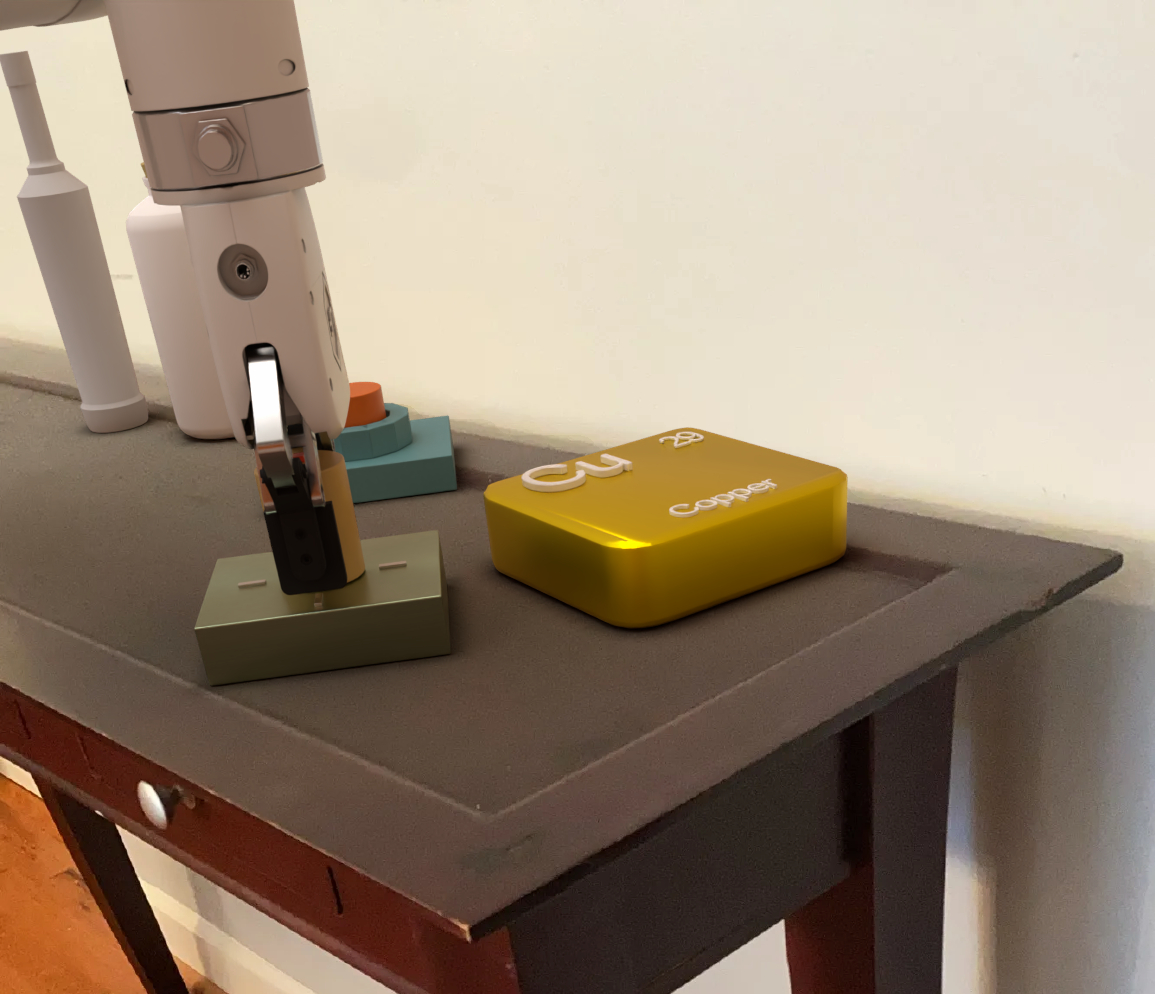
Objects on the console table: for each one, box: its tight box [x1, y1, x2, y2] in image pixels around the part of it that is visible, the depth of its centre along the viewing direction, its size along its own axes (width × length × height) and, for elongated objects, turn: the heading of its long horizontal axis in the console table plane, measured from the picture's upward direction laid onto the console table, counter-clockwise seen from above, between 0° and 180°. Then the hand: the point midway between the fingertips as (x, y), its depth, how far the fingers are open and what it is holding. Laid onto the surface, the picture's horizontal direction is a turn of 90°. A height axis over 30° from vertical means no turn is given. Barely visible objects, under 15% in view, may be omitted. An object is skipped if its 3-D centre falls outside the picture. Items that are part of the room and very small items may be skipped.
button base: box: [334, 402, 458, 504], centre depth 93 cm, size 12×10×4 cm
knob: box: [253, 450, 365, 583], centre depth 70 cm, size 4×4×6 cm
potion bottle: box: [125, 161, 235, 440], centre depth 104 cm, size 8×8×18 cm
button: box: [344, 381, 387, 428], centre depth 92 cm, size 4×4×2 cm
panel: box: [193, 529, 452, 687], centre depth 72 cm, size 12×10×3 cm
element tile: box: [482, 426, 849, 629], centre depth 75 cm, size 15×15×5 cm
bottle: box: [0, 50, 149, 434], centre depth 107 cm, size 5×5×25 cm
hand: (320, 561), depth 71 cm, fingers open, 6 cm apart
